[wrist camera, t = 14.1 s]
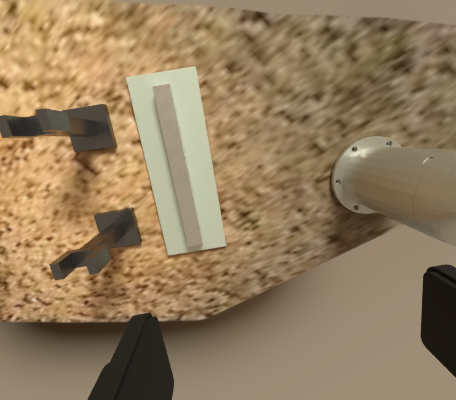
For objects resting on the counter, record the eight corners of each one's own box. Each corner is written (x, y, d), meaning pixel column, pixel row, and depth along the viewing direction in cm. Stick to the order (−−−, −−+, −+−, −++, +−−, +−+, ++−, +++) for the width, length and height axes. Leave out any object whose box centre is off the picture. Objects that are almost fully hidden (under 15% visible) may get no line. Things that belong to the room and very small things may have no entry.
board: (195, 67, 36) (195, 66, 35) (226, 244, 43) (226, 246, 42) (127, 78, 36) (125, 77, 35) (168, 253, 42) (168, 255, 42)
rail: (172, 86, 35) (169, 83, 34) (203, 239, 41) (202, 244, 39) (155, 89, 35) (152, 86, 34) (189, 241, 41) (188, 246, 39)
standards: (106, 104, 36) (43, 85, 23) (141, 241, 42) (107, 287, 29) (66, 111, 36) (-19, 95, 23) (107, 246, 42) (56, 296, 29)
